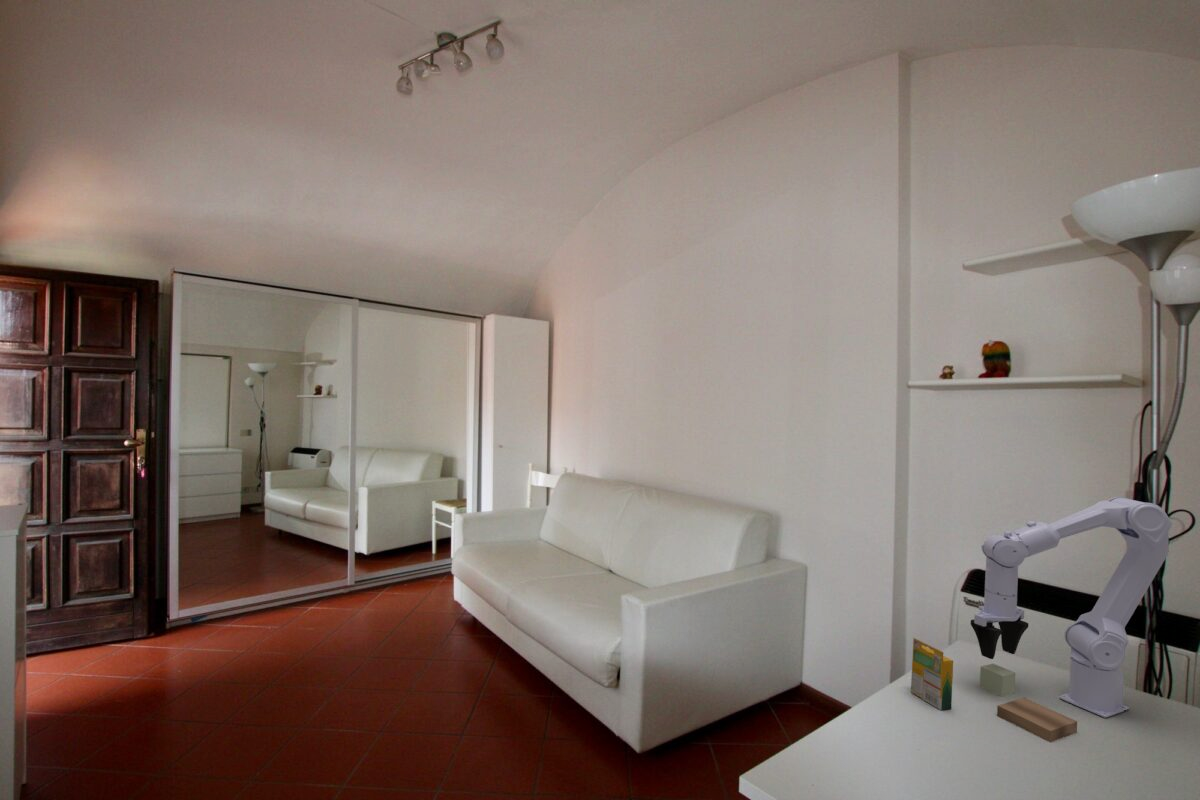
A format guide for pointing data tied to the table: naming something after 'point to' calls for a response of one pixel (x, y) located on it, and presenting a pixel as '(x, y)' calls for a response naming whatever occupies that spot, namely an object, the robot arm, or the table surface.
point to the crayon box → (931, 675)
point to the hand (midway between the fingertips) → (998, 654)
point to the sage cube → (997, 680)
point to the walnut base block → (1037, 719)
